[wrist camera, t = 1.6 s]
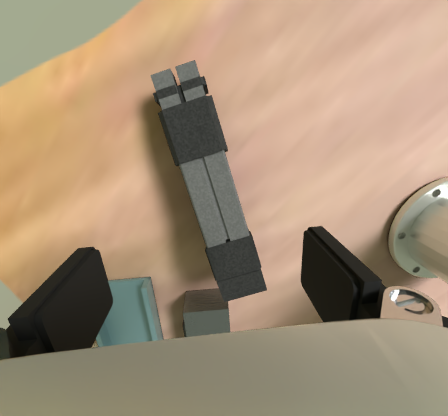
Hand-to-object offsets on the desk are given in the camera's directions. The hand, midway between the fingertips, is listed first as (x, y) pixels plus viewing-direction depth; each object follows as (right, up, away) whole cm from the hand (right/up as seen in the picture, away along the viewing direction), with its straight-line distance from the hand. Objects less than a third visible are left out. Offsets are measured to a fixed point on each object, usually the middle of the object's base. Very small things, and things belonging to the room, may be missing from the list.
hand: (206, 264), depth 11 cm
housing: (-1, -12, +20) cm, 23 cm away
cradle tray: (-11, -12, +19) cm, 25 cm away
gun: (0, +5, +14) cm, 15 cm away
